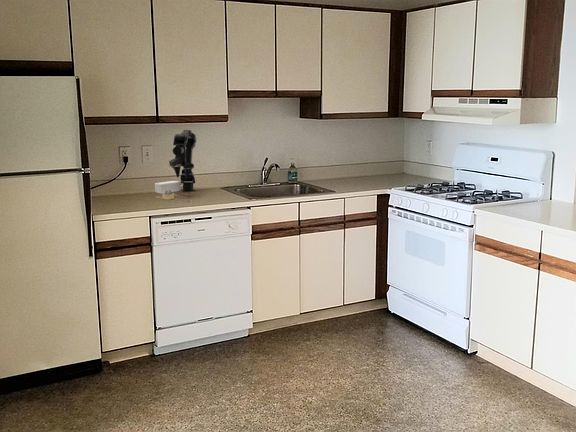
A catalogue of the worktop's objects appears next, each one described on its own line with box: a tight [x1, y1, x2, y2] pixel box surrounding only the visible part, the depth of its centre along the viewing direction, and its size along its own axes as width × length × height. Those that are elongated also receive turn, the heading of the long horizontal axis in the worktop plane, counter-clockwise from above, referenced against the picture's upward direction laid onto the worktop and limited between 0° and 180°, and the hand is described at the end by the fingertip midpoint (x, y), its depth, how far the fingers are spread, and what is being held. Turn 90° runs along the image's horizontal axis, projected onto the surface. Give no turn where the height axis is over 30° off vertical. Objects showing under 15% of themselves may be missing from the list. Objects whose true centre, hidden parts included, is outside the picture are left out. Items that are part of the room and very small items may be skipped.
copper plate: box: [156, 192, 194, 201], centre depth 372 cm, size 20×16×1 cm
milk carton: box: [154, 180, 183, 195], centre depth 391 cm, size 7×7×19 cm
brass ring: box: [161, 192, 176, 201], centre depth 365 cm, size 7×7×3 cm
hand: (182, 178), depth 375 cm, fingers open, 9 cm apart
